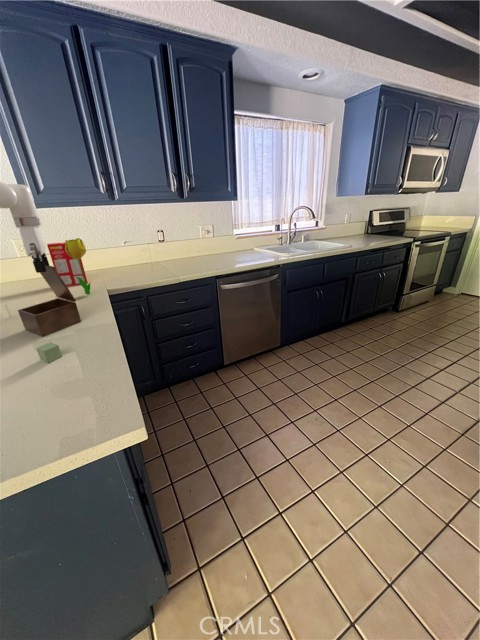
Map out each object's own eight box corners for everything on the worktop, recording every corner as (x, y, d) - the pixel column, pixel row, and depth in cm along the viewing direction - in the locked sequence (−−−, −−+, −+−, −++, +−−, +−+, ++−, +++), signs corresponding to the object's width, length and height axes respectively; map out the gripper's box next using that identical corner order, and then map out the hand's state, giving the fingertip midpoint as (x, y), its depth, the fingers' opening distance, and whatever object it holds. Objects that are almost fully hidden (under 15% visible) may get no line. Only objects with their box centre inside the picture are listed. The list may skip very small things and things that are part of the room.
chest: (42, 337, 101) (34, 316, 97) (25, 330, 107) (17, 310, 103) (81, 321, 114) (75, 302, 110) (64, 316, 119) (58, 297, 115)
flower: (90, 292, 150) (76, 237, 137) (100, 294, 146) (86, 238, 134) (76, 296, 143) (59, 239, 131) (85, 299, 140) (69, 240, 127)
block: (48, 363, 85) (43, 351, 83) (40, 359, 87) (35, 347, 85) (62, 356, 88) (58, 345, 86) (54, 353, 90) (50, 341, 88)
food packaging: (87, 281, 170) (76, 241, 160) (87, 283, 166) (77, 242, 156) (60, 285, 163) (47, 243, 152) (60, 287, 159) (47, 244, 148)
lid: (51, 267, 99) (53, 266, 100) (33, 264, 105) (35, 263, 105) (74, 302, 109) (76, 301, 110) (57, 297, 115) (59, 296, 115)
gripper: (19, 221, 101) (35, 266, 108) (9, 225, 87) (27, 275, 94) (43, 220, 104) (56, 263, 111) (36, 223, 90) (52, 273, 97)
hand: (43, 269), depth 103 cm, fingers open, 9 cm apart
